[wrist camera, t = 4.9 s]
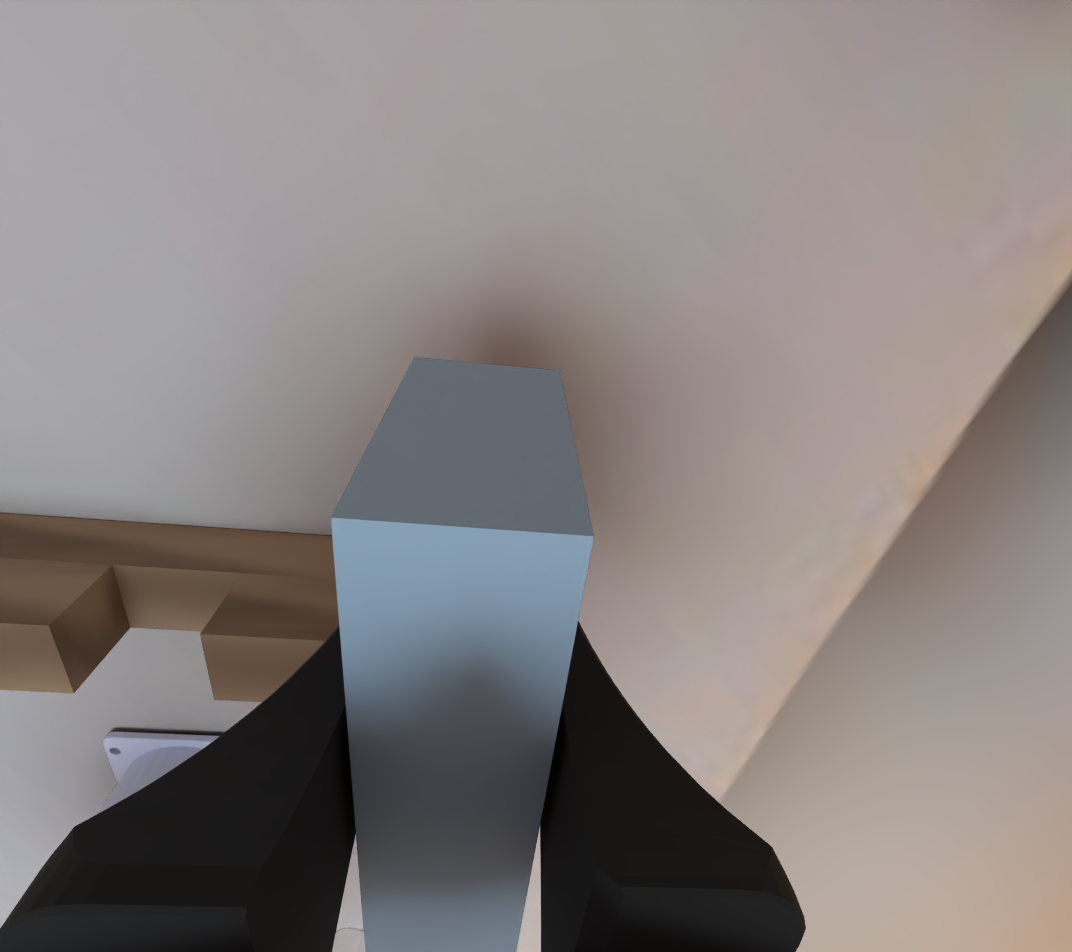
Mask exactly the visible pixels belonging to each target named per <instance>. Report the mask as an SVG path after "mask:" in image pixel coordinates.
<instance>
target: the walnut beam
mask: <svg viewBox="0 0 1072 952" xmlns="http://www.w3.org/2000/svg"><path fill="white" fill-rule="evenodd" d="M338 626H339V614H338V602H337V589H336V577H335V564H334V552H333V539H332V536H326V535H311V534H297V533H282V532H268V531H253V530H239V529H224V528H210V527H195V526H181V525H166V524H152V523H137V522H123V521H108V520H94V519H79V518H65V517H50V516H36V515H21V514H7V513H0V690H17V691H39V692H60V693H74V692H75V691H76V690H77V689H78V688H79V687H80V685H81V684H82V683H83V682H84V681H85V680H86V678H87V677H88V676H89V675H90V674H91V673H92V671H93V670H94V669H95V668H96V667H97V666H98V664H99V663H100V662H101V661H102V660H103V659H104V657H105V656H106V655H107V654H108V653H109V652H110V650H111V649H112V648H113V647H114V646H115V645H116V643H117V642H118V641H119V640H120V639H121V638H122V637H123V635H124V634H125V633H126V632H127V631H128V630H129V628H130V627H132V628H150V629H168V630H186V631H202V632H201V633H200V636H201V641H202V646H203V650H204V655H205V659H206V664H207V669H208V673H209V678H210V682H211V687H212V692H213V696H214V700H231V701H252V702H263V701H264V700H266V699H267V698H268V697H269V696H270V695H271V694H272V693H274V692H275V691H276V690H277V689H278V688H279V687H280V686H281V685H282V684H283V683H284V682H286V681H287V680H288V679H289V678H290V677H291V676H292V675H293V674H294V673H295V672H296V671H297V670H298V669H299V668H300V667H301V666H302V665H303V664H304V663H305V662H306V661H307V660H308V659H309V658H310V657H311V656H312V655H313V654H314V653H315V652H316V651H317V650H318V649H319V647H320V646H321V645H322V644H323V643H324V642H325V641H326V640H327V639H328V637H329V636H330V635H331V634H332V633H333V632H334V631H335V630H336V628H337V627H338Z"/></svg>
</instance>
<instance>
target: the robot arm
mask: <svg viewBox="0 0 1072 952" xmlns="http://www.w3.org/2000/svg"><path fill="white" fill-rule="evenodd" d="M103 745H104V748H105V751H106V754H107V756H108V759H109V762H110V765H111V767H112V770H113V773H114V776H115V778H116V781H117V785H116V787H115V788H114V790H113V791H112V793H111V794H110V796H109V797H108V799H107V800H106V802H105V804H104V805H103V807H102V808H101V810H100V811H99V813H98V814H97V815H95V816H93V817H92V818H90V819H88V820H86V821H84V822H82V823H81V824H79V825H77V826H75V827H74V828H73V829H72V831H71V832H70V833H69V835H68V836H67V837H66V838H65V840H64V841H63V842H62V843H61V844H60V846H59V847H58V848H57V849H56V850H55V851H54V853H53V854H52V855H51V856H50V858H49V859H48V861H47V862H46V863H45V865H44V866H43V867H42V869H41V870H40V871H39V873H38V874H37V876H36V877H35V879H34V880H33V882H32V883H31V885H30V886H29V887H28V889H27V890H26V892H25V893H24V895H23V896H22V898H21V899H20V901H19V902H18V904H17V905H16V906H15V908H14V909H13V911H12V912H11V914H10V915H9V917H8V918H7V920H6V921H5V922H4V924H3V925H2V927H1V928H0V952H332V949H333V944H334V939H335V933H336V928H337V923H338V918H339V913H340V908H341V903H342V898H343V893H344V888H345V883H346V878H347V873H348V868H349V863H350V858H351V853H352V849H353V844H354V839H355V834H356V828H355V815H354V802H353V790H352V777H351V765H350V752H349V740H348V727H347V715H346V702H345V690H344V677H343V665H342V652H341V640H340V627H339V626H338V627H337V628H336V630H335V631H334V632H333V633H332V634H331V635H330V636H329V637H328V639H327V640H326V641H325V642H324V643H323V644H322V645H321V646H320V647H319V649H318V650H317V651H316V652H315V653H314V654H313V655H312V656H311V657H310V658H309V659H308V660H307V661H306V662H305V663H304V664H303V665H302V666H301V667H300V668H299V669H298V670H297V671H296V672H295V673H294V674H293V675H292V676H291V677H290V678H289V679H288V680H287V681H286V682H284V683H283V684H282V685H281V686H280V687H279V688H278V689H277V690H276V691H275V692H274V693H272V694H271V695H270V696H269V697H268V698H267V699H266V700H264V701H263V702H262V703H261V704H260V705H259V706H257V707H256V708H255V709H254V710H253V711H251V712H250V713H249V714H248V715H246V716H245V717H244V718H243V719H241V720H240V721H239V722H238V723H236V724H235V725H234V726H232V727H231V728H230V729H229V730H227V731H226V732H225V733H223V734H222V735H221V736H208V735H184V734H160V733H137V732H110V733H108V734H107V735H106V737H105V738H104V740H103ZM540 847H541V952H795V951H796V950H797V948H798V947H799V944H800V942H801V940H802V937H803V935H804V932H805V929H806V927H805V920H804V915H803V913H802V910H801V908H800V905H799V903H798V900H797V897H796V895H795V893H794V890H793V888H792V886H791V884H790V882H789V879H788V878H787V875H786V873H785V871H784V869H783V867H782V865H781V864H780V862H779V860H778V858H777V856H776V854H775V852H774V850H773V848H772V847H771V846H770V845H769V844H768V843H767V842H765V841H764V840H763V839H762V838H760V837H759V836H758V835H757V834H756V833H754V832H753V831H752V830H751V829H749V828H748V827H747V826H746V825H745V824H743V823H742V822H741V821H740V820H738V819H737V818H736V817H735V816H733V815H732V814H731V813H730V812H729V811H727V810H726V809H725V808H724V807H723V806H722V805H721V804H720V803H718V802H717V801H716V800H715V799H714V798H713V797H712V796H711V795H710V794H709V793H708V792H706V791H705V790H704V789H703V788H702V787H701V786H700V785H699V784H698V783H697V782H696V781H695V780H694V779H693V778H692V777H691V776H690V775H689V774H688V773H687V772H686V771H685V769H684V768H683V767H682V766H681V765H680V764H679V763H678V762H677V761H676V760H675V759H674V758H673V757H672V756H671V755H670V754H669V753H668V752H667V751H666V750H665V748H664V747H663V746H662V745H661V744H660V743H659V741H658V740H657V739H656V738H655V737H654V736H653V734H652V733H651V732H650V731H649V730H648V728H647V727H646V726H645V725H644V723H643V722H642V721H641V720H640V718H639V717H638V716H637V714H636V713H635V712H634V711H633V709H632V708H631V706H630V705H629V704H628V702H627V701H626V700H625V698H624V697H623V695H622V694H621V692H620V691H619V689H618V688H617V686H616V685H615V684H614V682H613V681H612V679H611V677H610V676H609V674H608V673H607V671H606V670H605V668H604V666H603V665H602V663H601V661H600V660H599V658H598V656H597V654H596V653H595V651H594V649H593V648H592V646H591V644H590V642H589V641H588V639H587V637H586V635H585V633H584V631H583V629H582V627H581V625H580V623H579V621H578V624H577V629H576V634H575V640H574V645H573V650H572V656H571V661H570V666H569V672H568V677H567V682H566V688H565V693H564V698H563V704H562V709H561V715H560V720H559V725H558V731H557V736H556V741H555V747H554V752H553V757H552V763H551V768H550V773H549V779H548V784H547V789H546V795H545V800H544V805H543V811H542V816H541V821H540Z"/></svg>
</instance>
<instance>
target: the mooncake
mask: <svg viewBox="0 0 1072 952" xmlns="http://www.w3.org/2000/svg"><path fill="white" fill-rule="evenodd" d="M332 952H365V940H364V930H363V931H361V930H359V929H356V928H344V929H341V930H339V931H337V932H336V933H335V939H334V944H333V949H332Z"/></svg>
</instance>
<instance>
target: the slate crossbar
mask: <svg viewBox="0 0 1072 952" xmlns="http://www.w3.org/2000/svg"><path fill="white" fill-rule="evenodd" d="M331 527H332V539H333V552H334V564H335V577H336V589H337V602H338V614H339V627H340V640H341V652H342V665H343V677H344V690H345V702H346V715H347V727H348V740H349V752H350V765H351V777H352V790H353V802H354V815H355V828H356V840H357V853H358V865H359V878H360V890H361V903H362V915H363V928H364V940H365V952H516V950H517V944H518V939H519V934H520V928H521V923H522V918H523V912H524V907H525V902H526V896H527V891H528V886H529V880H530V875H531V870H532V864H533V859H534V854H535V848H536V843H537V838H538V832H539V827H540V821H541V816H542V811H543V805H544V800H545V795H546V789H547V784H548V779H549V773H550V768H551V763H552V757H553V752H554V747H555V741H556V736H557V731H558V725H559V720H560V715H561V709H562V704H563V698H564V693H565V688H566V682H567V677H568V672H569V666H570V661H571V656H572V650H573V645H574V640H575V634H576V629H577V624H578V618H579V613H580V608H581V602H582V597H583V592H584V586H585V581H586V576H587V570H588V565H589V559H590V554H591V549H592V543H593V538H594V535H593V530H592V525H591V520H590V515H589V510H588V505H587V501H586V496H585V491H584V486H583V481H582V476H581V471H580V466H579V461H578V457H577V452H576V447H575V442H574V437H573V432H572V427H571V422H570V417H569V413H568V408H567V403H566V398H565V393H564V388H563V383H562V378H561V373H560V371H559V370H548V369H538V368H527V367H516V366H505V365H495V364H484V363H473V362H462V361H452V360H441V359H430V358H419V357H414V359H413V361H412V363H411V365H410V367H409V369H408V370H407V372H406V374H405V376H404V378H403V380H402V382H401V384H400V386H399V388H398V390H397V392H396V394H395V395H394V397H393V399H392V401H391V403H390V405H389V407H388V409H387V411H386V413H385V415H384V417H383V418H382V420H381V422H380V424H379V426H378V428H377V430H376V432H375V434H374V436H373V438H372V440H371V441H370V443H369V445H368V447H367V449H366V451H365V453H364V455H363V457H362V459H361V461H360V463H359V464H358V466H357V468H356V470H355V472H354V474H353V476H352V478H351V480H350V482H349V484H348V486H347V488H346V489H345V491H344V493H343V495H342V497H341V499H340V501H339V503H338V505H337V507H336V509H335V511H334V512H333V514H332V516H331Z"/></svg>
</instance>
